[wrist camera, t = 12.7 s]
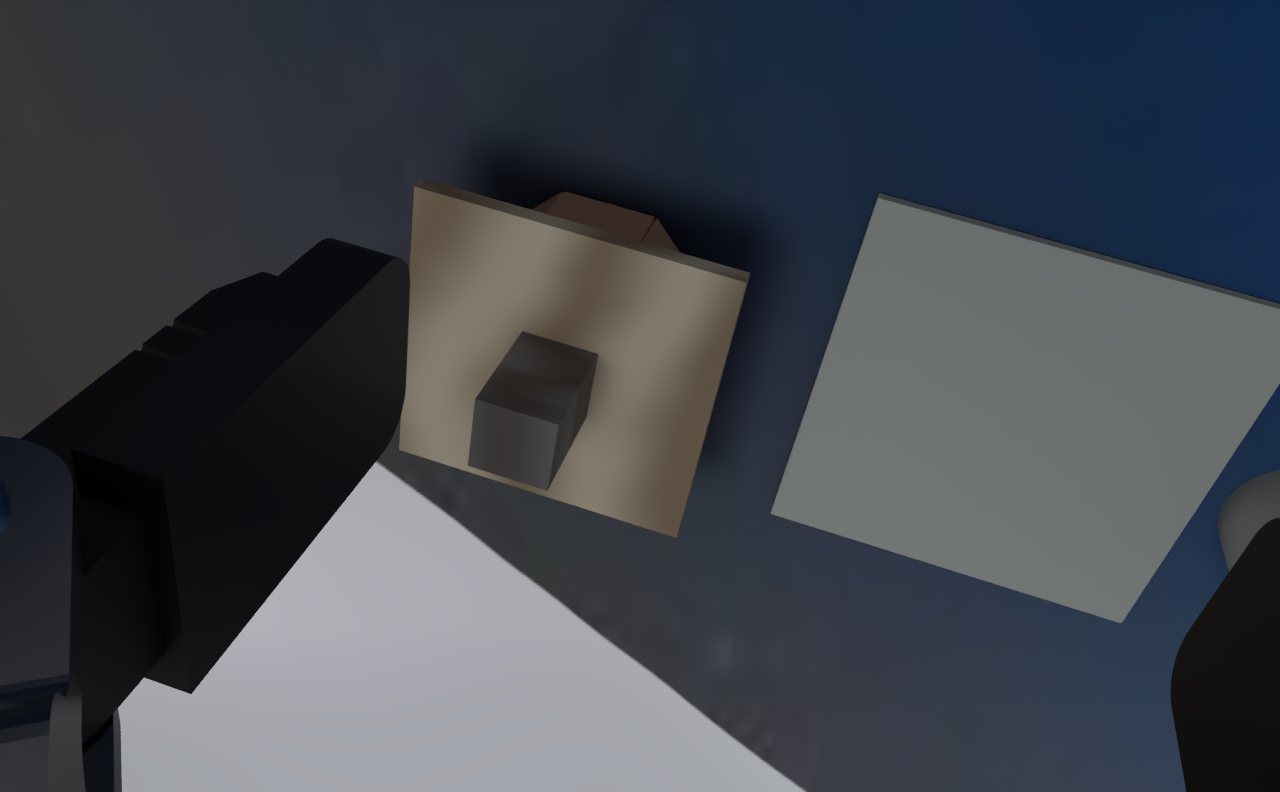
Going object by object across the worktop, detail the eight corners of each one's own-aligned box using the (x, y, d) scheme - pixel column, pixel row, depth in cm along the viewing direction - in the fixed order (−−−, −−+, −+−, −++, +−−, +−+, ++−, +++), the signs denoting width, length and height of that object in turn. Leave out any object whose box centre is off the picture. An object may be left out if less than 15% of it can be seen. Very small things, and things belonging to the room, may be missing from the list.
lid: (750, 272, 40) (720, 352, 35) (680, 526, 47) (648, 619, 43) (423, 178, 41) (352, 242, 36) (406, 439, 49) (346, 520, 44)
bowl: (725, 231, 45) (698, 291, 41) (679, 417, 51) (651, 487, 46) (502, 168, 46) (451, 220, 42) (482, 357, 52) (436, 420, 48)
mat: (1317, 314, 40) (1321, 320, 40) (1120, 615, 50) (1121, 623, 50) (879, 192, 42) (878, 197, 42) (772, 507, 52) (770, 513, 52)
